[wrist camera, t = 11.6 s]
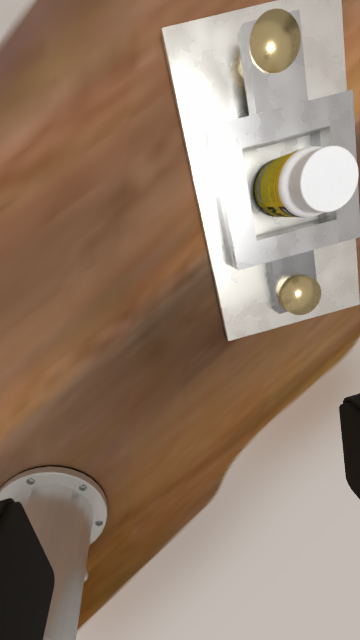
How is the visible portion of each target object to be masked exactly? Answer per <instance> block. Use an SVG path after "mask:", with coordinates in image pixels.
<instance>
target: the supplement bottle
mask: <svg viewBox="0 0 360 640" xmlns="http://www.w3.org/2000/svg"><path fill="white" fill-rule="evenodd" d="M357 183H358V166H357V163H356V160H355V158H354V157H353V155H352V154H351V153H350V152H349V151H348V150H346V149H345V148H342V147H340V146H326V147H320V146H311V147H306V148H302V149H300V150H297V151H295V152H292V153H290V154H287V155H284V156H281V157H279V158H276V159H273V160H271V161H269V162H267V163H265V164H264V165H263V166H262V167H261V168H260V169H259V170H258V171H257V173H256V175H255V177H254V179H253V183H252V198H253V201H254V203H255V205H256V207H257V208H258V209H259V210H260V211H261V212H262V213H264V214H266V215H268V216H273V217H299V218H309V217H314V216H317V215H320V214H322V213H325V212H332V211H335V210H337V209H339V208H341V207H342V206H343V205H345V204H346V203H347V202H348V201H349V200H350V198H351V197H352V195H353V194H354V192H355V189H356V186H357Z"/></svg>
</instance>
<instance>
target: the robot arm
mask: <svg viewBox="0 0 360 640" xmlns="http://www.w3.org/2000/svg"><path fill="white" fill-rule="evenodd" d="M339 411H340V421H341V432H342V442H343V452H344V463H345V473H346V479H347V482H348V484H349V486H350V487H351V489H352V491H353V492H354V493H355V494H356V495H357V496H358V498H359V499H360V394H357V395H353V396H350V397H346V398H345V399H344V401H343V404H341V405H340V407H339ZM107 511H108V505H107V499H106V497H105V495H104V492H103V491H102V489H101V488H100V487H99V485H98V484H97V483H96V482H94V481H93V480H92V479H91V478H89V477H88V476H86V475H84V474H83V473H80V472H78V471H75V470H72V469H68V468H63V467H40V468H35V469H31V470H27V471H25V472H23V473H20V474H18V475H16V476H15V477H13V478H12V479H10V480H9V481H8V482H7V483H6V484H5V485H4V486H3V487H2V488H1V489H0V640H75V639H76V633H77V626H78V619H79V612H80V606H81V599H82V592H83V585H84V582H85V581H86V580H87V578H88V572H87V570H86V565H87V558H88V551H89V545H90V544H92V543H93V542H94V541H95V540H96V539H97V538H98V537H99V535H100V534H101V533H102V531H103V529H104V527H105V524H106V520H107Z"/></svg>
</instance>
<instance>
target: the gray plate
mask: <svg viewBox="0 0 360 640" xmlns="http://www.w3.org/2000/svg"><path fill="white" fill-rule="evenodd" d="M161 38H162V43H163V48H164V52H165V57H166V61H167V66H168V71H169V75H170V80H171V85H172V89H173V94H174V99H175V103H176V108H177V113H178V117H179V122H180V127H181V131H182V136H183V140H184V145H185V150H186V154H187V159H188V164H189V168H190V173H191V178H192V182H193V187H194V192H195V196H196V201H197V206H198V210H199V215H200V219H201V224H202V229H203V233H204V238H205V243H206V247H207V252H208V257H209V261H210V266H211V271H212V275H213V280H214V285H215V289H216V294H217V299H218V303H219V308H220V312H221V317H222V322H223V326H224V331H225V336H226V338H227V340H228V341H231V340H235V339H238V338H242V337H245V336H249V335H252V334H256V333H259V332H263V331H267V330H270V329H274V328H277V327H281V326H284V325H288V324H292V323H295V322H299V321H302V320H306V319H309V318H313V317H316V316H320V315H324V314H327V313H331V312H334V311H338V310H341V309H345V308H348V307H352V306H356V305H359V304H360V302H359V285H358V269H357V252H356V238H359V237H360V213H359V195H358V183H357V186H356V189H355V192H354V194H353V195H352V197H351V198H350V200H349V201H348V202H347V203H346V204H345V205H343V206H342V207H341V208H339V209H337V210H335V211H332V212H325V213H322V214H320V215H317V216H314V217H309V218H299V217H273V216H268V215H266V214H264V213H262V212H261V211H260V210H259V209H258V208H257V207H256V205H255V203H254V201H253V198H252V183H253V179H254V177H255V175H256V173H257V171H258V170H259V169H260V168H261V167H262V166H263V165H264V164H265V163H267V162H269V161H271V160H273V159H276V158H279V157H281V156H284V155H287V154H290V153H292V152H295V151H297V150H300V149H302V148H306V147H311V146H320V147H326V146H340V147H342V148H345V149H346V150H348V151H349V152H350V153H351V154H352V155H353V157H354V158H355V160H356V163H357V158H356V140H355V122H354V104H353V90H349V91H347V86H346V70H345V53H344V37H343V20H342V4H341V0H277V1H273V2H268V3H264V4H260V5H256V6H252V7H248V8H244V9H239V10H235V11H231V12H227V13H223V14H219V15H214V16H210V17H206V18H202V19H198V20H194V21H189V22H185V23H181V24H177V25H173V26H169V27H165V28H162V30H161Z"/></svg>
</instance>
